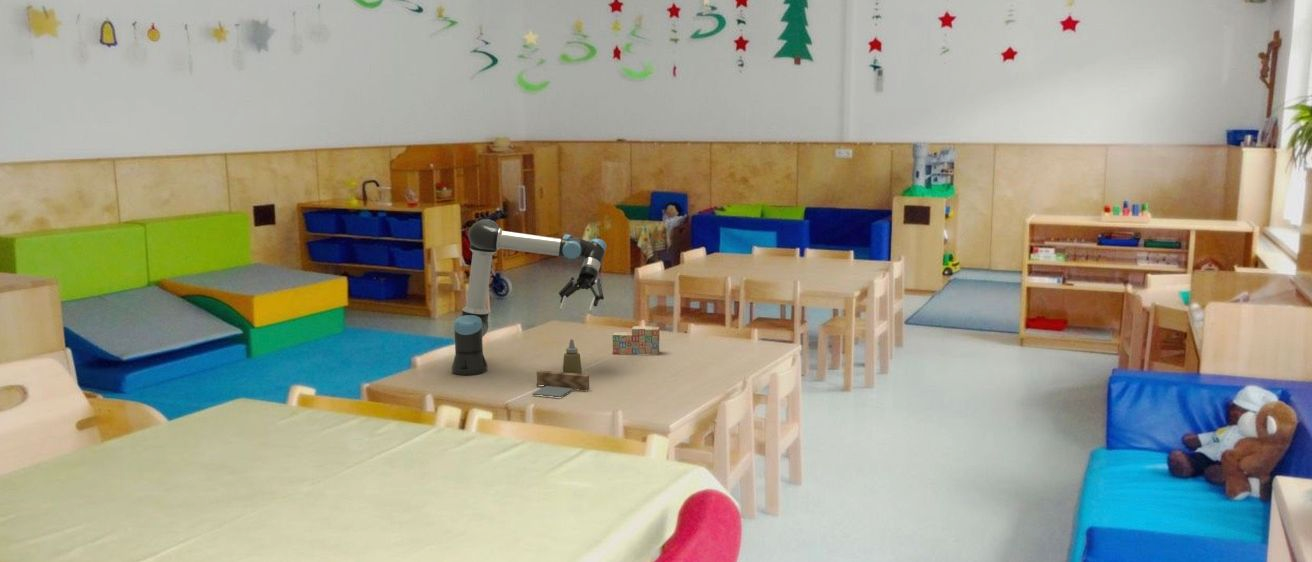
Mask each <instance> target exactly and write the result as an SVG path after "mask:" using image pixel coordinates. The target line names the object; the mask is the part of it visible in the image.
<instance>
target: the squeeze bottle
mask: <svg viewBox="0 0 1312 562" xmlns="http://www.w3.org/2000/svg"><path fill="white" fill-rule="evenodd" d="M562 363H563V364H562V372H565V373H576V374H583V370H582V360H581V354H580V353H579V352H578V347H577V346H575V342H574V339H569V345H568V347H566V349H565V353H564V354H563V362H562Z"/></svg>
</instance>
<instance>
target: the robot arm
mask: <svg viewBox="0 0 1312 562" xmlns="http://www.w3.org/2000/svg"><path fill="white" fill-rule="evenodd" d="M498 225H499V224H497V223H496V222H495V221H494V220H492V219H488V218H486V219H485V218H482V219H480V220H478V221H476V222H475V223H473V225H472V226H471V227H470V228H469V230H468V241H469V242H470V243H469V250H470V251H471V252H472V255H471V265H470V273H469V281H468V288H467V298H466V305H465V306H464V307H463V308H462V309H461V316H459V317H457V318H455V319H454V324H453V329H454V348H455V349H454V351H455V352H454V353H455V355H454V357H453V362H452V365H451V372H453V374H454V373H455V374H454V375H458V374H460V375H459V376H474V375H480V374H483V373H486V372H487V371H488V363H487V360H486V358H485V355H484V351H483V338H484V336H485V335H486V334H487V332H488V329H489V320H488V319H489V315H490V314H489V310H488V309H487V301H488V294H489V293H488V292H489V285H490V276H491V270H492V269H491V268H492V260H493V256H494V254H496V253H497V251H499V250H500V249H503V250H511V251H519V252H527V253H533V254H542V255H548V256H549V255H550V256H556V257H562V258H567V260H568V259H569V260H574V259H577V258H578V257H581V258H584V260H583V263H582V265H581V268H580V272H579V275H578V278H574V277H571V278H570V280H569V281H568V282H567V283H566V284H565V286H564V287H563V288H561V290H560V291H559V292H558V294H559V297H560V300H559V301H560V306H559V309H560V311H561V313H564V312H565V308H566V305H567V303H568V298H569V297H570V296H571V295H573V294H574V293H576V292H577V291H579V290H590V291H591V293H592V294H593V298H592V300H591V303H590V305H589V309H588V311H589V312H590V314H593V313H594V311H595V307H597V306H598V304H599V301H600V300H604V299H605V298H604V293H603V288H602V283H603V282H602V280H601V278H597V277H598V273H599V272H600V268H601V264H602V262H603V259H604V257H605V254H606V250H607V243H606V242H605V241H604V240H603V239H601V238H596V237H595V238H592V239H591V240H590V241H589V240H585V239H583V238H579V237H576V236H574V235H571V234H568V233H565V234H564V235H563V237H562V238H557V237H552V236H543V235H537V234H536V235H535V234H529V233H523V232H515V231H507V230H503V228H501V227H499V226H498ZM595 284H596V285H597V290H598V294H597V292H596V289H595V288H594V287H593V286H594V285H595Z"/></svg>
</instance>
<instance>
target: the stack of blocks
mask: <svg viewBox="0 0 1312 562" xmlns="http://www.w3.org/2000/svg"><path fill="white" fill-rule="evenodd" d="M631 328H632V329H631V332H626V331H625V332H624V331H623V332H620V331H619V332H618V331H615V332H613V334H612V355H630V356H631V355H637V354H658V353H660V326H654V325H653V326H651V325H650V326H649V325H648V326H637V325H635V326H632V327H631ZM658 355H659V354H658ZM637 356H638V355H637Z"/></svg>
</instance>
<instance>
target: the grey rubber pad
mask: <svg viewBox="0 0 1312 562" xmlns="http://www.w3.org/2000/svg"><path fill="white" fill-rule="evenodd" d="M572 390H573V388H564V387H553V386H545V387H542V388H540V389H538V390H536V391H535V392H533V393H532V396H533V395H543V396H553V397H562V396H564V395H566V394H567V393H569V392H571V391H572ZM573 391H574V390H573ZM573 391H572V392H573ZM572 392H571V393H572ZM569 394H570V393H569ZM567 395H568V394H567ZM567 395H566V396H567ZM564 397H565V396H564ZM562 398H563V397H562Z"/></svg>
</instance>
